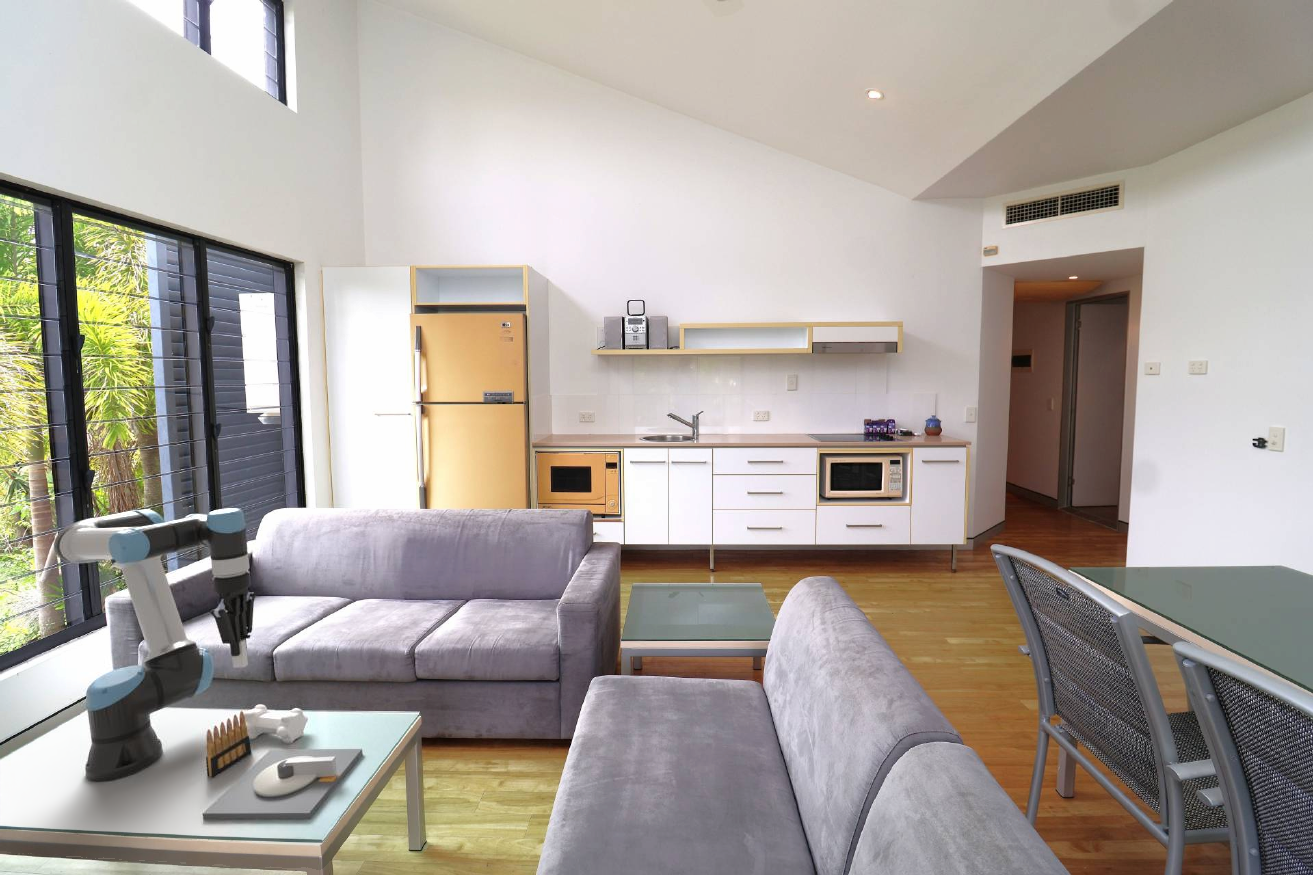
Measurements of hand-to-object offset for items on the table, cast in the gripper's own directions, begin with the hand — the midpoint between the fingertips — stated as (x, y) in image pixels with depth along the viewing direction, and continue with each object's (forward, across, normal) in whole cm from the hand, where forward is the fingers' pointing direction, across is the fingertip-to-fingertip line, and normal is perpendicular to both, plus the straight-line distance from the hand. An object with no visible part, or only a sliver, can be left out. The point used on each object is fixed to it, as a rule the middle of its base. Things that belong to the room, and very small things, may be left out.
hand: (240, 666), depth 159 cm
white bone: (+27, -13, -2) cm, 30 cm away
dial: (+25, +7, +16) cm, 30 cm away
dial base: (+26, +7, +14) cm, 31 cm away
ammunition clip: (+27, -1, -6) cm, 27 cm away
